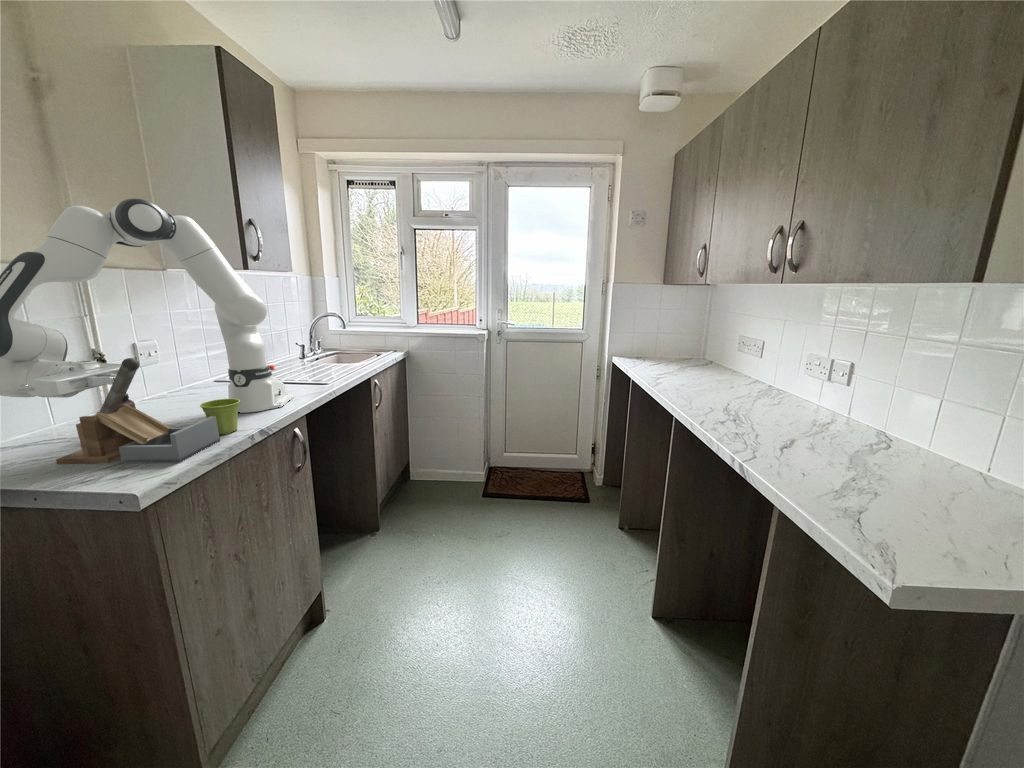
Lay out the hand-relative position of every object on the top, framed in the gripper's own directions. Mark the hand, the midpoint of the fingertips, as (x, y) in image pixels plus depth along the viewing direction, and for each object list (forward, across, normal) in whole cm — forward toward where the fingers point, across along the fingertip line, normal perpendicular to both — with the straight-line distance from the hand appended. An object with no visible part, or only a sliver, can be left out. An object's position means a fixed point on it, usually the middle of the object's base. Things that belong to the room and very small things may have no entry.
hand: (117, 379), depth 100 cm
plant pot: (+13, +15, +19) cm, 28 cm away
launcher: (0, 0, +12) cm, 12 cm away
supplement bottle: (-15, +15, +19) cm, 28 cm away
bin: (+10, 0, +19) cm, 21 cm away
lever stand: (-6, 0, +19) cm, 20 cm away
